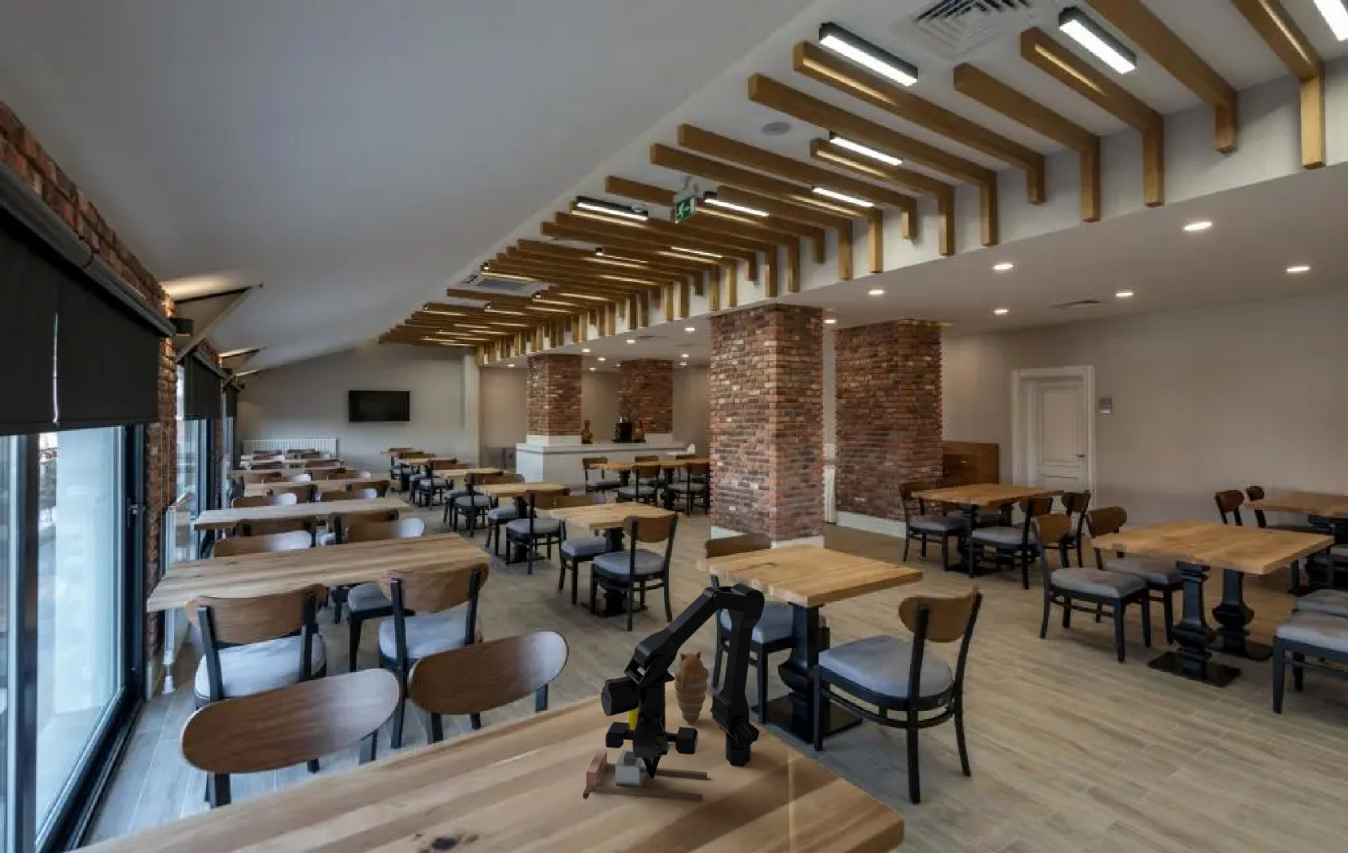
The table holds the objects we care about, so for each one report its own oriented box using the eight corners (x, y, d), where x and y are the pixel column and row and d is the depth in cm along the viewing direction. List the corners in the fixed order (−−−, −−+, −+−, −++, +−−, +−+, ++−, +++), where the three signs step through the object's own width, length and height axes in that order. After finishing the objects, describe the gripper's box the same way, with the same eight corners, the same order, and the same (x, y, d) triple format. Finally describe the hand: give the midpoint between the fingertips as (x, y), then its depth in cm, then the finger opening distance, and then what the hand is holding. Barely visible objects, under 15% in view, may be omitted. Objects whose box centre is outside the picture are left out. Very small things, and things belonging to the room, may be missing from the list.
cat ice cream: (678, 731, 154) (677, 659, 153) (670, 716, 161) (670, 647, 161) (712, 726, 156) (712, 655, 155) (703, 712, 163) (702, 644, 163)
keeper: (622, 772, 135) (622, 746, 134) (645, 774, 134) (645, 748, 134) (615, 789, 129) (615, 761, 129) (639, 791, 128) (639, 764, 128)
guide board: (597, 769, 138) (596, 747, 138) (709, 780, 134) (709, 757, 133) (583, 797, 128) (582, 773, 128) (704, 810, 124) (704, 785, 123)
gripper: (597, 719, 123) (598, 797, 124) (690, 727, 120) (691, 806, 121) (612, 694, 134) (612, 765, 135) (698, 700, 131) (698, 773, 132)
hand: (652, 777), depth 130 cm, fingers closed
